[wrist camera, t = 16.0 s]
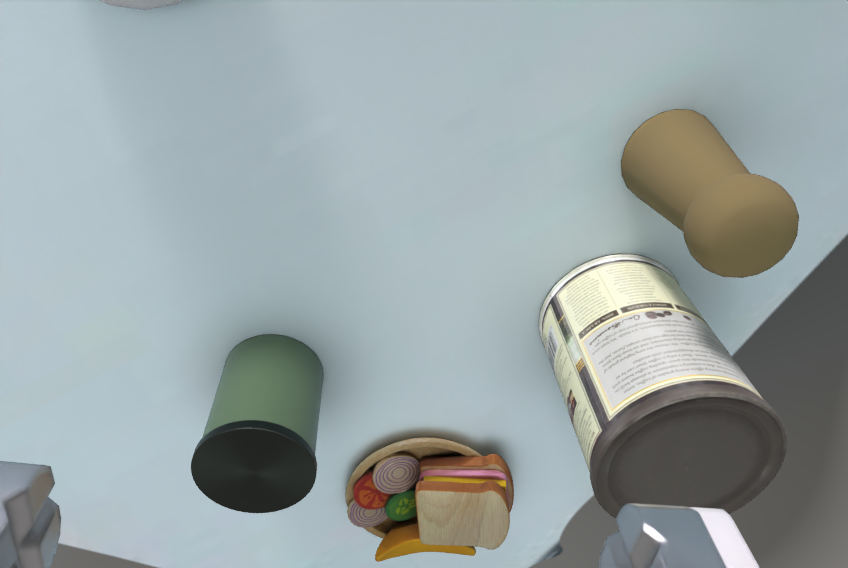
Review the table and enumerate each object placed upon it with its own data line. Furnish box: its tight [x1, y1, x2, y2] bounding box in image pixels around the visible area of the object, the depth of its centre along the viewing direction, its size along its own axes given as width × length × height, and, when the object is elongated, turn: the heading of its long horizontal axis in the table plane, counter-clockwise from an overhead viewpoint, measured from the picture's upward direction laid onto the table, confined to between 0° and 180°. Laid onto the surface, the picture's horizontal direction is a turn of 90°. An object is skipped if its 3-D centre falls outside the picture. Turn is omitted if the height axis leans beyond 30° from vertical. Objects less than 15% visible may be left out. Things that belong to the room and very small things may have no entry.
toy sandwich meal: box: [346, 437, 514, 561], centre depth 53 cm, size 12×14×5 cm
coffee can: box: [539, 254, 787, 518], centre depth 41 cm, size 10×10×14 cm
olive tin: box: [191, 335, 323, 513], centre depth 44 cm, size 7×7×9 cm
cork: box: [621, 109, 799, 278], centre depth 36 cm, size 6×6×11 cm
